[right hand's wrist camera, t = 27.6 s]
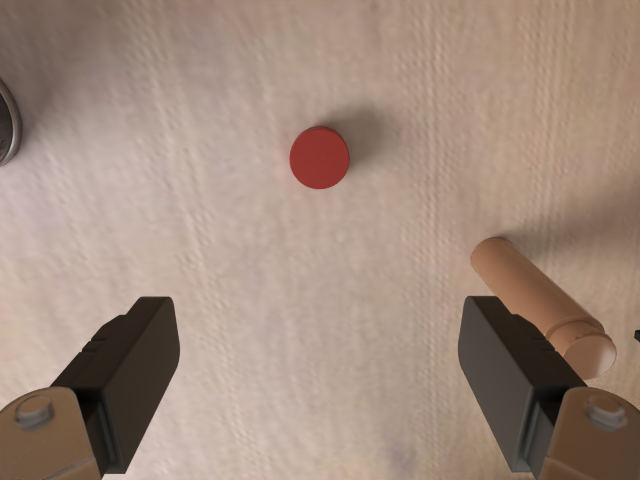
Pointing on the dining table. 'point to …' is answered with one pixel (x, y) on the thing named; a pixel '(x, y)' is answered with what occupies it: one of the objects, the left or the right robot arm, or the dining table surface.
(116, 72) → the dining table surface
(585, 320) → the cylinder
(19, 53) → the dining table surface
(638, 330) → the left robot arm
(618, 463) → the right robot arm
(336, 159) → the lid
